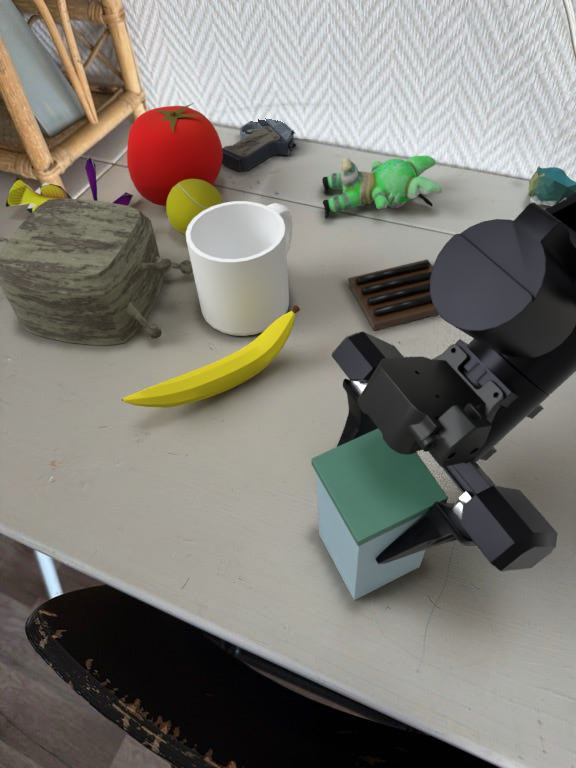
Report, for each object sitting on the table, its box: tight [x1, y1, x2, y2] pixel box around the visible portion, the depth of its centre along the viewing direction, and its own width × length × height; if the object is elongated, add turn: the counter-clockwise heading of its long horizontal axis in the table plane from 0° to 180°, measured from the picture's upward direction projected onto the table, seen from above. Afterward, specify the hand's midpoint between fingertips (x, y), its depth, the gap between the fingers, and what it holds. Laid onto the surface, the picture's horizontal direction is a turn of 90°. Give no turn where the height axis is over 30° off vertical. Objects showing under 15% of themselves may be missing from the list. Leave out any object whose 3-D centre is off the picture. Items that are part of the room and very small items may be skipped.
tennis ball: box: [165, 179, 224, 237], centre depth 74 cm, size 7×7×7 cm
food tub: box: [310, 428, 449, 601], centre depth 43 cm, size 6×6×13 cm
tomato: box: [126, 102, 223, 207], centre depth 78 cm, size 12×14×11 cm
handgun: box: [222, 118, 297, 172], centre depth 89 cm, size 2×14×12 cm
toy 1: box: [4, 153, 134, 214], centre depth 76 cm, size 12×19×10 cm
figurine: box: [527, 165, 576, 207], centre depth 76 cm, size 12×9×8 cm
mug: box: [185, 200, 293, 337], centre depth 64 cm, size 13×10×10 cm
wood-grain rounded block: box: [0, 198, 193, 346], centre depth 66 cm, size 14×9×25 cm
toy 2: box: [321, 155, 443, 219], centre depth 77 cm, size 10×7×15 cm
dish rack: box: [347, 259, 439, 332], centre depth 67 cm, size 10×8×2 cm
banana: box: [121, 305, 300, 409], centre depth 58 cm, size 3×19×6 cm, turn 122°
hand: (352, 519), depth 43 cm, fingers closed on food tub, 7 cm apart
